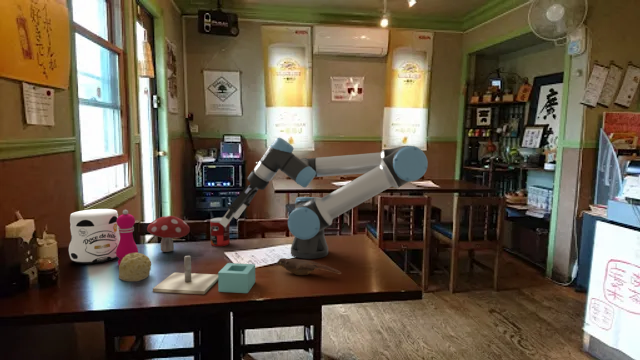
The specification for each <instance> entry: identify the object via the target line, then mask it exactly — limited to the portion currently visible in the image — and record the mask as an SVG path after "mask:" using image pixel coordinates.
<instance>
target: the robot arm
mask: <svg viewBox="0 0 640 360" xmlns="http://www.w3.org/2000/svg"><path fill="white" fill-rule="evenodd" d="M293 151H294V147H293V145H292V144H291V143H289V142H288V141H287V140H286V139H284V138H282V137H276V138H275V139H274V141H273V142H272V143H271V145H269V147H268V148H267V150H265V152H264V154H263V156H262V157H261V158H260V160H259V161H256V162H255V164H256V165H255V166H254V168H253V170H251V172H250V174H249V175H248V176H247V180H248V181H247V182H249V184H248V185H246V186H245V187H244V188H243V190H242V191H241V192H240V194H238V196H237V197H236V199H235V200H234V201H233V202H232V203H231V205H228V206H227V209H228V210H227V211H226V213H225V214H224V215H223V216H222V217H221V218H222V220H221V221H220V222H219V223H220V224H221V225H223V226H224V227H226V226H227V225H228V223H229V224H230V222H231V221H232V219H233V218H234V219H236V220H238V219H239V218H240V216H241V215H242V213H243V212H244V211H245V210H246V208H247V207H250V206H251V202H252V200H253V199H254V197H255V196H256V194H257V193H258V191H259V190H260V191H265V189H266V188H267V187H268V185H269V184H270V182H272V180H273V178H274V177H275V176H276V175H277V173H278V171H281V172H282V173H283V174H285V175H286V176H288V177H289V178H290V179H291V180H292V181H294V182H295V183H296V184H297V185H298V186H300V187H302V188H307V187H308V186H309V185H310V184H311V182H312V181H313V179H314V178H319V177H330V176H331V177H334V176H345V175H346V176H347V175H349V176H350V175H358V174H359V175H360V174H361V175H360V176H358V177H357V178H355V179H353V180H351V181H350V182H347V183H346V184H344V185H342V186H341V187H339V188H337V189H335V190H334V191H332V192H330V193H328V194H326V195H324V196H323V197H318V196H313V197H312V196H311V197H310V196H298V197H296V198H295V202H294V207H295V208H294V209H292V210H291V212H290V213H289V215H288V218H287V227H288V230H289V232H290V233H291V234H292V236H294V237H293V240H292V243H291V247H290V254H292V255H291V256H293V255H294V256H293V257H295V256H296V257H295V258H297V259H303V260H313V259H315V260H316V259H321V258H322V259H323V258H325V257H327V256H328V255H329V246H328V243H327V240H326V237H325V229H326V228H328V227H330V226H332V224H333V220H335V219H336V218H338V217H339V216H341V215H342V214H344V213H347V212H348V211H350V210H351V209H354V208H355V207H357V206H359V205H361V204H363V203H364V202H366V201H368V200H369V199H372V198H373V197H376V196H377V195H379V194H381V193H382V192H383V191H386V190H388V189H390V188H391V187H393V188H397V189H399V188H400V187H402V186H405V185H406V184H408V183H409V182H410V183H411V182H415V181H418V180H419V179H421V178H422V177H423V176H424V175H425V173H426V172H427V169H428V164H429V163H428V158H427V156H426V154H425V152H424V151H423V149H421V148H419V147H417V146H415V145H401V146H398V147H393V148H388V149H382V150H381V151H380V152H370V153H359V154H346V155H334V156H333V155H332V156H321V157H311V158H310V157H309V158H306V157H304V158H299V157H297V156H296V155H295V154H294V153H293Z"/></svg>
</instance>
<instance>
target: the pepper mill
mask: <svg viewBox="0 0 640 360" xmlns="http://www.w3.org/2000/svg"><path fill="white" fill-rule="evenodd" d="M135 223H136V219H135V216H134V215H132V214H130V213H129V210H127V209H123V210H122V214H120V215H118V218H117V225H118V226H119V228H118V229H119V231H118V232H119V235H120V241H119V244H118V247H117V249H116V256H117V257H116V258H118V260H117V266H119V265H120V263H121V261H122V259H123V257H125V256H126V255H128V254H130V253H139V248H138V246H137V244H136V242H135V239H134V235H133V232H134V231H135V227H134V225H136V224H135Z"/></svg>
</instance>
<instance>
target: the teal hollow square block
mask: <svg viewBox="0 0 640 360" xmlns="http://www.w3.org/2000/svg"><path fill="white" fill-rule="evenodd" d="M217 275H218V281H217V285H218V286H217V287H218V292H219V293H237V294H249V292H250V291H251V290H252V287H253V286H254V285H255V283H256V264H254V263H236V262H235V263H234V262H227V263H226V264H225V265H224V266H223V267H222V268H221V269H220V270H219V271H218V273H217Z"/></svg>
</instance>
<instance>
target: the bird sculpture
mask: <svg viewBox="0 0 640 360" xmlns="http://www.w3.org/2000/svg"><path fill="white" fill-rule="evenodd" d="M272 266H273V267H274V266H280V267H282V268H284V269H285V271H288V272H290V273H291V274H295V275H296V276H306V275H309V274H310V273H312V272H314V271H315V270H319V271H327V272H329V273H334V274H338V275H341V274H342V272H341V270H338V269H336V268H334V267H331V266H329V265H324V264H323V263H319V262H316V261H313V260H310V259H300V258H287V257H286V258H285V257H281V258H279V259H278V260H277V262H276V263H274V264H273V265H272Z"/></svg>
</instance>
